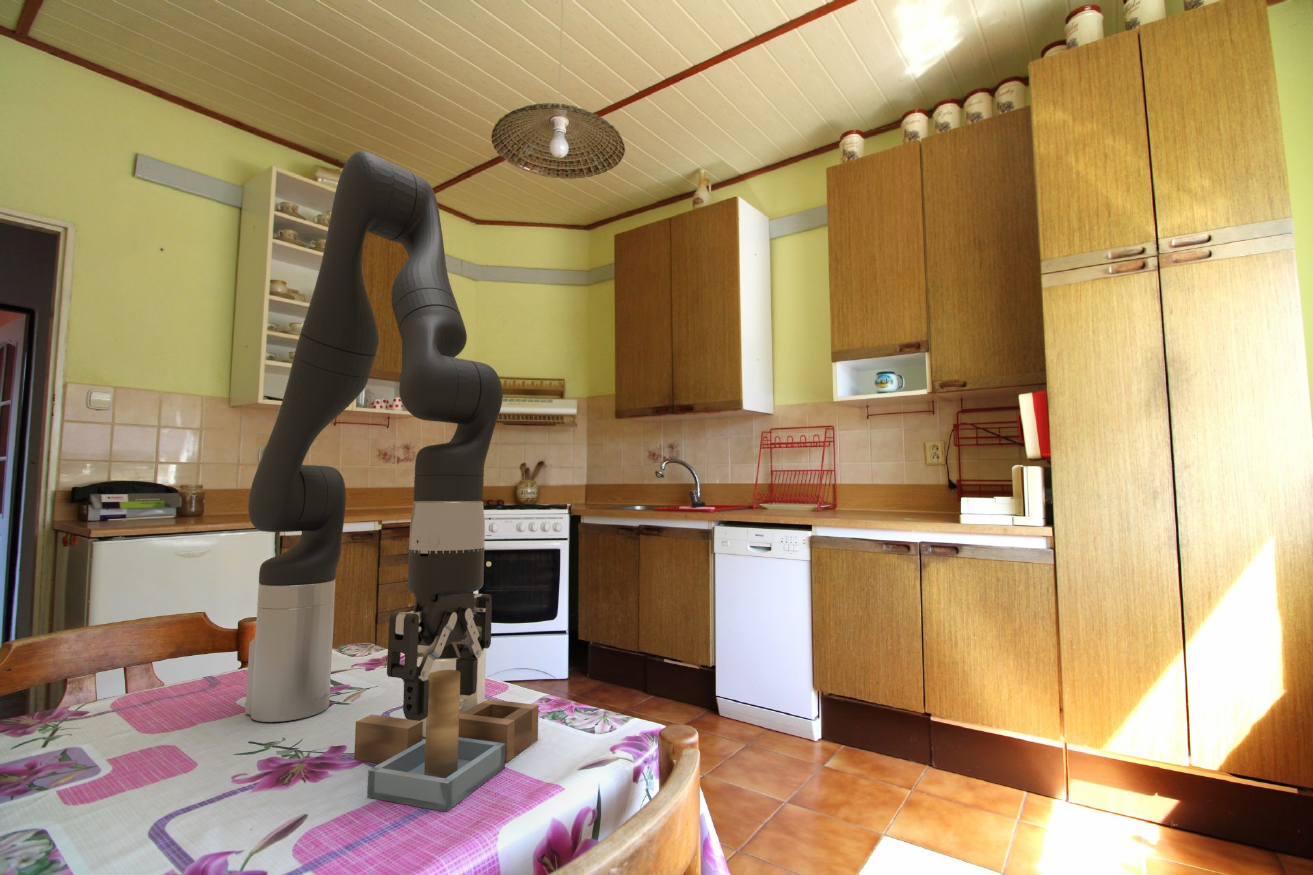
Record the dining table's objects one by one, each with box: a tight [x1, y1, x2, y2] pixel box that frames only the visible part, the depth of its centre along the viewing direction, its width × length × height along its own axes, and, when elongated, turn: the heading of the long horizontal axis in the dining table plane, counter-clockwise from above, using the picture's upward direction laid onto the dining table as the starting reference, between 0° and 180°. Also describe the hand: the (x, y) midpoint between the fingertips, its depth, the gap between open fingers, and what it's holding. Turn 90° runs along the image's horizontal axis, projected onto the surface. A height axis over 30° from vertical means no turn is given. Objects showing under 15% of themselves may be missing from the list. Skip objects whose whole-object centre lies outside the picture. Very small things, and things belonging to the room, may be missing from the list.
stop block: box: [353, 714, 423, 764], centre depth 70 cm, size 7×2×4 cm, turn 72°
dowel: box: [424, 670, 460, 778], centre depth 65 cm, size 3×3×10 cm
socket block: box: [459, 698, 540, 764], centre depth 73 cm, size 7×7×4 cm
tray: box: [366, 737, 506, 813], centre depth 64 cm, size 9×10×2 cm
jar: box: [417, 626, 487, 739], centre depth 80 cm, size 9×8×12 cm
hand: (442, 705), depth 65 cm, fingers open, 7 cm apart
